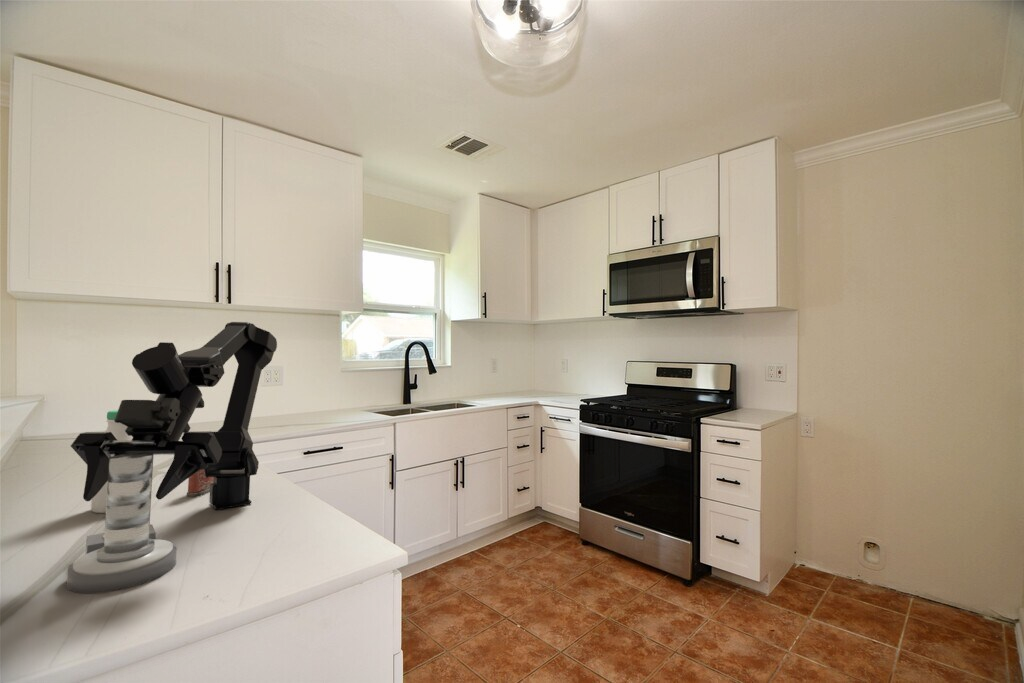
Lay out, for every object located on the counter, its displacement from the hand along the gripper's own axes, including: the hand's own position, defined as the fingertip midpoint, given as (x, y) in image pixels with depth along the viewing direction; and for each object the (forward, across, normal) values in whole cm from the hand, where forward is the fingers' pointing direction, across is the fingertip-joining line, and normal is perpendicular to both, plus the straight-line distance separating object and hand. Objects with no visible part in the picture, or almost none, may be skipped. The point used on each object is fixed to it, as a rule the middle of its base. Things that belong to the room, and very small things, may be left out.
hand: (122, 498), depth 65 cm
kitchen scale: (+5, -1, +10) cm, 11 cm away
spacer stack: (+5, 0, +7) cm, 8 cm away
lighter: (-23, -10, +38) cm, 46 cm away
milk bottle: (-16, -21, +31) cm, 41 cm away
